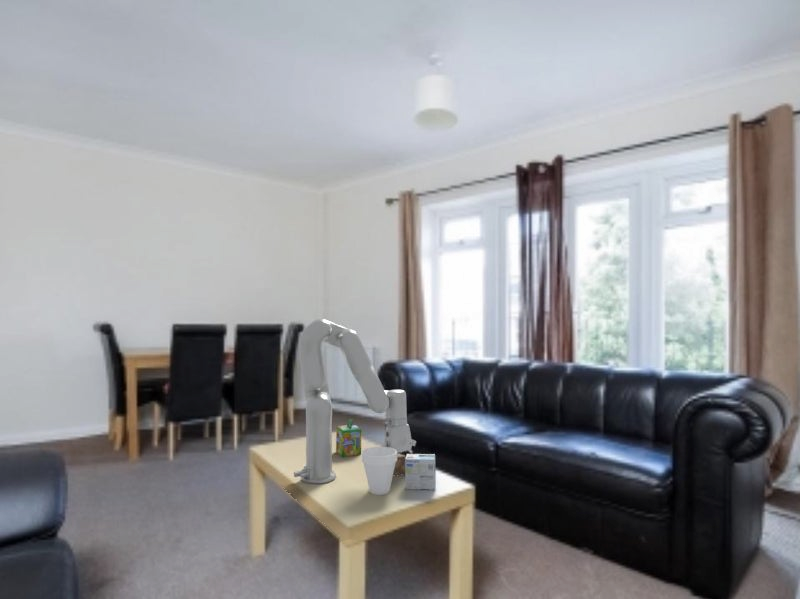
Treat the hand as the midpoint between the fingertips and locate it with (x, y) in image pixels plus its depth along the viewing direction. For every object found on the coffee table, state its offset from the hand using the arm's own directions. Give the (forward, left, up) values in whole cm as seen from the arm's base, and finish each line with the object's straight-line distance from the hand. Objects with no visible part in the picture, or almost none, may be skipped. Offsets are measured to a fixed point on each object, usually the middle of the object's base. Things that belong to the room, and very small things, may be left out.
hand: (398, 466), depth 181 cm
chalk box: (-2, +34, -3) cm, 34 cm away
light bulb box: (-2, -17, -3) cm, 17 cm away
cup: (-17, -11, -3) cm, 20 cm away
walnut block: (0, 0, -3) cm, 3 cm away
